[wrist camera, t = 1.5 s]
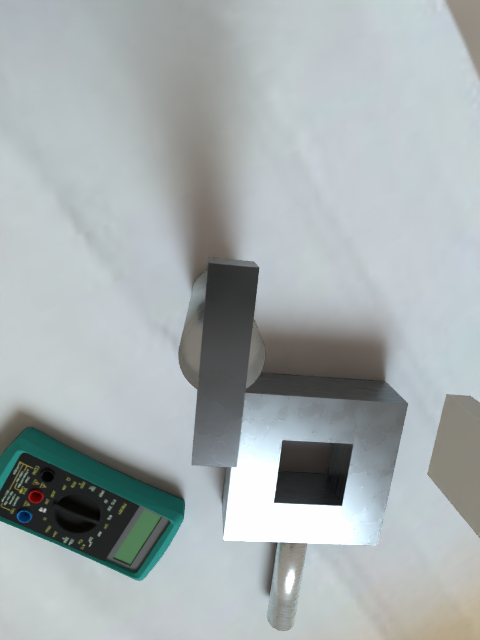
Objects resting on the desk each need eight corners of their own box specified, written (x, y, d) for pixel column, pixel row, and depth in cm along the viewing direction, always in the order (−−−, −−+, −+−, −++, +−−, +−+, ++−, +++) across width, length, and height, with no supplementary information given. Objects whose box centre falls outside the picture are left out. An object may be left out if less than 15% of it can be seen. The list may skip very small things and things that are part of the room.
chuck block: (236, 370, 33) (239, 392, 29) (385, 381, 34) (408, 403, 30) (212, 600, 38) (212, 644, 34) (341, 602, 39) (356, 645, 35)
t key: (196, 235, 30) (182, 260, 15) (247, 239, 30) (284, 270, 15) (188, 342, 32) (168, 464, 17) (236, 346, 32) (258, 468, 17)
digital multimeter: (24, 418, 33) (6, 437, 30) (189, 498, 36) (187, 523, 33) (-16, 489, 34) (-36, 514, 31) (147, 561, 37) (142, 590, 34)
